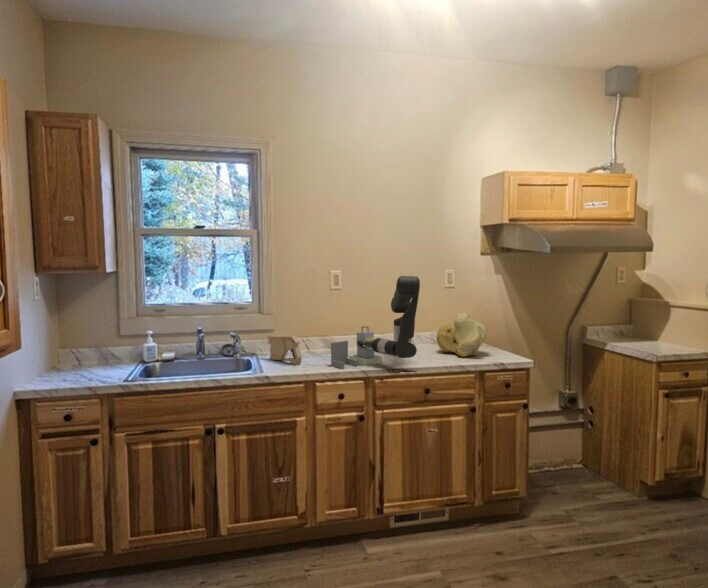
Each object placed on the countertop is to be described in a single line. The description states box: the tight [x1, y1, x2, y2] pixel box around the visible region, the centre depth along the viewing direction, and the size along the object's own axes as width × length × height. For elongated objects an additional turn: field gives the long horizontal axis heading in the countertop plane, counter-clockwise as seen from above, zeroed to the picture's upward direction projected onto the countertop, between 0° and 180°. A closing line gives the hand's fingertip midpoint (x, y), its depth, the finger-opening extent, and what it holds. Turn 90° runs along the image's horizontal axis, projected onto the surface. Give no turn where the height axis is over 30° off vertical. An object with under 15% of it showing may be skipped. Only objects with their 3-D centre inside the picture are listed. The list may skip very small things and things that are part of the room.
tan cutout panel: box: [267, 335, 303, 366], centre depth 269 cm, size 24×3×15 cm, turn 47°
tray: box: [348, 354, 383, 366], centre depth 269 cm, size 12×13×3 cm
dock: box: [330, 340, 359, 370], centre depth 258 cm, size 10×10×12 cm
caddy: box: [356, 326, 375, 359], centre depth 268 cm, size 6×7×17 cm
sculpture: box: [436, 311, 487, 358], centre depth 286 cm, size 25×26×30 cm
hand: (362, 342), depth 270 cm, fingers closed on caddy, 6 cm apart
